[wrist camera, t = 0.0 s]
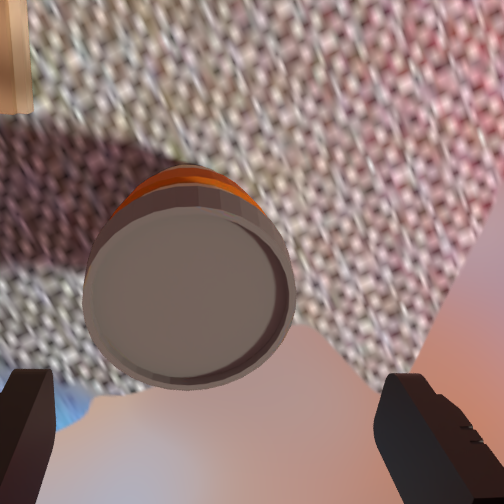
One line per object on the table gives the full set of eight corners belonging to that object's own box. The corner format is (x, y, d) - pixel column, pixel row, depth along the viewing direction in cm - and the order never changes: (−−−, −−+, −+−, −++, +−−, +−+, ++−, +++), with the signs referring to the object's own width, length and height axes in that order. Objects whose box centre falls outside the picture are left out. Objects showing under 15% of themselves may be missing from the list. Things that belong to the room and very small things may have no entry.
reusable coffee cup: (217, 112, 37) (237, 156, 23) (285, 239, 42) (334, 334, 29) (81, 190, 38) (26, 274, 24) (165, 303, 43) (157, 424, 30)
